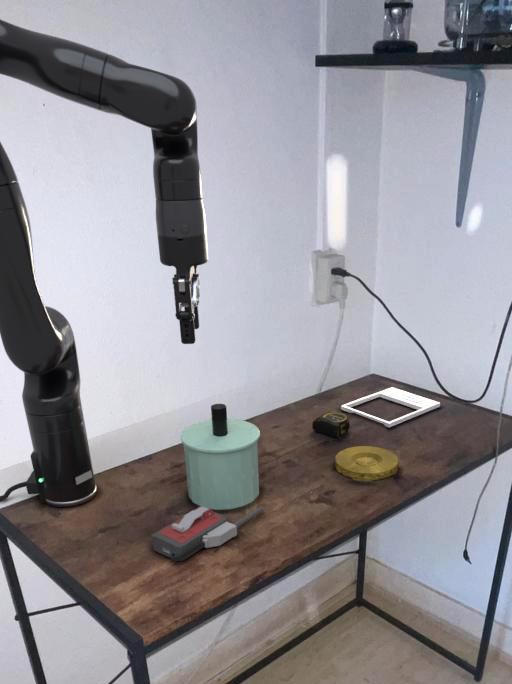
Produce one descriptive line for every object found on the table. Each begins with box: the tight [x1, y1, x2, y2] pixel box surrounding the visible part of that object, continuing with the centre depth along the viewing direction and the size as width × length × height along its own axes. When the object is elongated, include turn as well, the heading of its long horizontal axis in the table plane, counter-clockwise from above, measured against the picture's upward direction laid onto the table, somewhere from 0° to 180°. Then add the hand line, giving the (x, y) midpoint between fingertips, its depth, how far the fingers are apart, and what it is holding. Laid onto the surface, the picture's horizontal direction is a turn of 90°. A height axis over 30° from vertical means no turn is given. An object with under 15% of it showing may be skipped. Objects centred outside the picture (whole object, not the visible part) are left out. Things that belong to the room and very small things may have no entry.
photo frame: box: [340, 386, 441, 428], centre depth 159 cm, size 15×1×18 cm
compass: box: [334, 445, 399, 482], centre depth 132 cm, size 12×12×2 cm
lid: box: [180, 403, 261, 453], centre depth 117 cm, size 14×14×6 cm
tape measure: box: [312, 411, 351, 439], centre depth 147 cm, size 7×7×4 cm
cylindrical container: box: [183, 441, 260, 511], centre depth 121 cm, size 13×13×12 cm
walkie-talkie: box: [151, 506, 264, 562], centre depth 111 cm, size 9×4×20 cm
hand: (190, 335), depth 113 cm, fingers open, 8 cm apart
